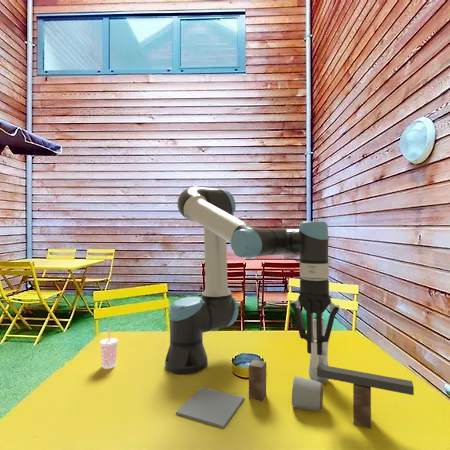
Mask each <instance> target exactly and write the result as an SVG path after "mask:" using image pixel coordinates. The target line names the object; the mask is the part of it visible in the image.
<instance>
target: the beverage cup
mask: <svg viewBox="0 0 450 450" xmlns="http://www.w3.org/2000/svg"><path fill="white" fill-rule="evenodd" d="M107 329H108V331H107V332H108V333H107V335H108V336H107V337H108V338H107V337H106V338H103V339H101V340H100V341H99V345H100V353H101V366H102V369H104V370H105V369H106V370H107V369H113V368H115V367H116V365H117V353H118V343H119V339H118V338H116V337H111V336H110V334H111V332H110V330H111V328H110V326H108V327H107Z"/></svg>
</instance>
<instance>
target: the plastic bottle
mask: <svg viewBox="0 0 450 450" xmlns="http://www.w3.org/2000/svg"><path fill="white" fill-rule="evenodd" d="M325 325H326V322H325V318H324V317H322V326H323V336H325V332H326V327H325ZM313 340H317V324H316V316H315V317H314V316H313ZM329 341H330V339H329V340H328V342H323V343H322V351H323V352H322V354H321V355H318V358H319V364H320V365H325V366H329V361H328V356H329V355H328V352H329V351H328V350H329V343H330V342H329ZM309 354H310V353H309ZM319 364H318V365H319ZM317 368H318V367H317ZM317 368H312V367H311V354H310V357H309V366H308V376H309V379H310V380H314V381H318V382H320V383H322V384H327V382H328V381H329V380H330V379H327V378H322V377H317Z"/></svg>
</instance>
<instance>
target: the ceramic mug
mask: <svg viewBox="0 0 450 450" xmlns="http://www.w3.org/2000/svg"><path fill="white" fill-rule="evenodd" d="M292 381H293V382H292V389H291V390H292V391H291V406H292V408H298V409H303V410H309V411H314V412H321V411H323V406H324V405H323V404H324V383H320V382H318V381H314V380H311V379H310V378H306V377H305V378H304V377H301V376H297V375H295V376H294V378H293V380H292Z"/></svg>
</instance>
